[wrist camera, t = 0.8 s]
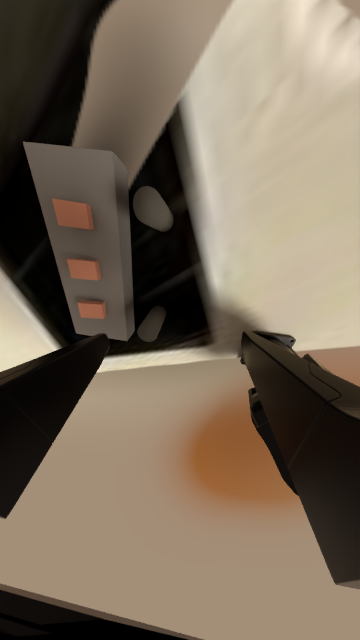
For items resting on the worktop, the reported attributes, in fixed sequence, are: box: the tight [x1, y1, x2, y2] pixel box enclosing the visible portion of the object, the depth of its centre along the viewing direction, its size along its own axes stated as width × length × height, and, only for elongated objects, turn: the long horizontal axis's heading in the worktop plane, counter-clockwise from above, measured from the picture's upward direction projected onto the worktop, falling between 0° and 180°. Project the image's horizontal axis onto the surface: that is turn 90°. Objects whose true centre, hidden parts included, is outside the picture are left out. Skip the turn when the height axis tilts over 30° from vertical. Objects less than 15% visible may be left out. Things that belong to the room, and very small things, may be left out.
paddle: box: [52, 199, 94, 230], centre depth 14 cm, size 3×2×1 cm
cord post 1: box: [133, 186, 173, 232], centre depth 14 cm, size 2×2×6 cm
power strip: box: [23, 142, 135, 341], centre depth 18 cm, size 8×20×3 cm, turn 174°
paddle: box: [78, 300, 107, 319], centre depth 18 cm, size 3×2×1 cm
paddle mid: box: [67, 258, 101, 280], centre depth 16 cm, size 3×2×1 cm
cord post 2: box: [137, 306, 166, 342], centre depth 19 cm, size 2×2×6 cm
